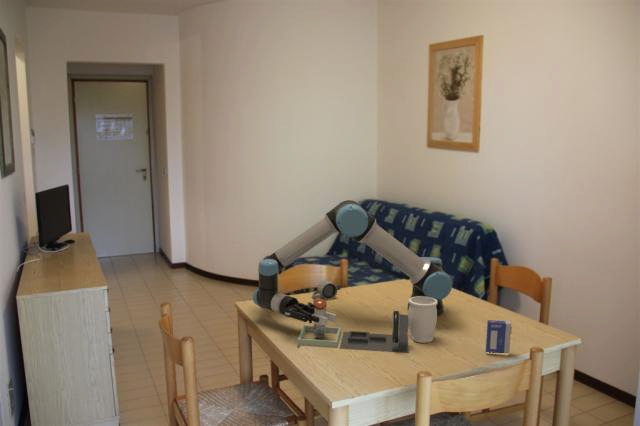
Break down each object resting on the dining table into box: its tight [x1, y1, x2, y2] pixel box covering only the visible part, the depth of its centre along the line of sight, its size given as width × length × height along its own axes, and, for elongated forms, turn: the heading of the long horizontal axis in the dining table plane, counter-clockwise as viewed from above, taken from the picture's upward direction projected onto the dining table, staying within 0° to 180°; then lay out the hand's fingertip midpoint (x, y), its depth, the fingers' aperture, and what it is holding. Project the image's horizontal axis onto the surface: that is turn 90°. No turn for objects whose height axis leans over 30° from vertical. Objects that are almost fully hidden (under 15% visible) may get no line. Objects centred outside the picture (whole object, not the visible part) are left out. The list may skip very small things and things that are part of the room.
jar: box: [407, 296, 438, 344], centre depth 214 cm, size 11×10×15 cm
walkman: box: [485, 319, 513, 354], centre depth 201 cm, size 8×3×12 cm, turn 81°
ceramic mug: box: [311, 279, 338, 301], centre depth 261 cm, size 11×8×8 cm
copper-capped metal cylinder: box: [312, 298, 328, 338], centre depth 210 cm, size 5×5×13 cm
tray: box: [297, 325, 342, 348], centre depth 211 cm, size 14×14×3 cm
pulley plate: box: [339, 310, 410, 354], centre depth 208 cm, size 24×16×14 cm, turn 83°
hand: (331, 320), depth 207 cm, fingers closed on copper-capped metal cylinder, 4 cm apart
